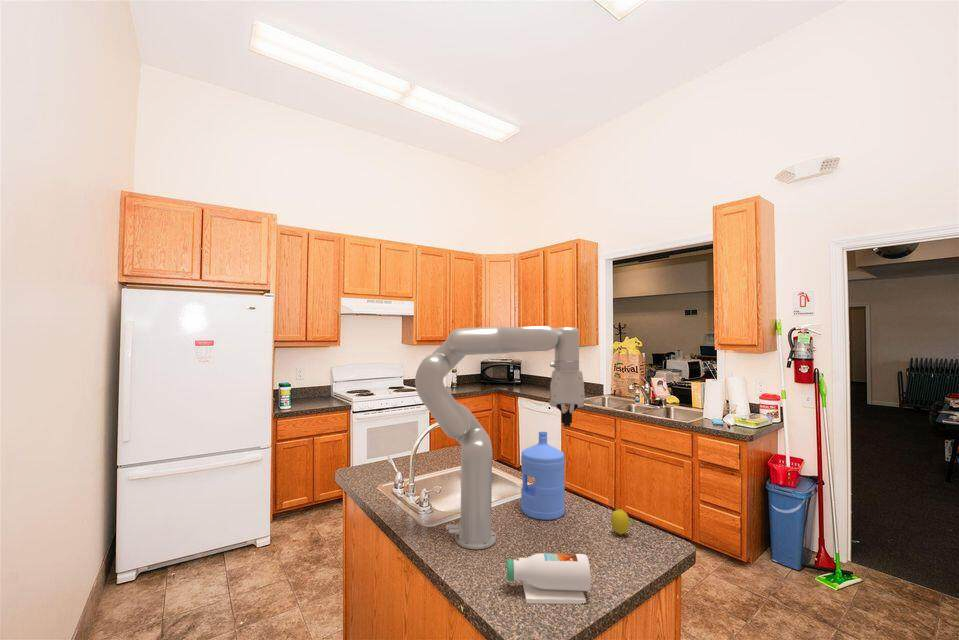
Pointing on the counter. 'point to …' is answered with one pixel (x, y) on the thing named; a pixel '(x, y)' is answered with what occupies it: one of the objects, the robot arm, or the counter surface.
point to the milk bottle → (552, 571)
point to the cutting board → (551, 595)
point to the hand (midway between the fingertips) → (566, 425)
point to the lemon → (620, 521)
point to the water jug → (543, 481)
